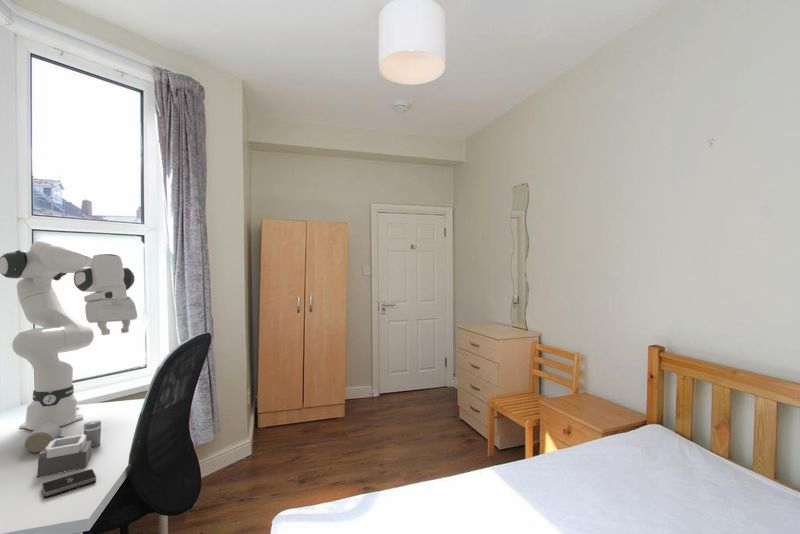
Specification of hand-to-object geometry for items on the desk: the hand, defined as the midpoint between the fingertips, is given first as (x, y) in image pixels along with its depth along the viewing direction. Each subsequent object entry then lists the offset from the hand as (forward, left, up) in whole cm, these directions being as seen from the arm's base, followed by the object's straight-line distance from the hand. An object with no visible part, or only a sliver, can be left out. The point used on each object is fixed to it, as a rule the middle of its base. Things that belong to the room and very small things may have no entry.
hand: (115, 333), depth 132 cm
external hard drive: (+27, -7, -40) cm, 49 cm away
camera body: (+12, -10, -39) cm, 42 cm away
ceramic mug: (-7, -18, -39) cm, 44 cm away
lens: (-1, -6, -39) cm, 40 cm away
